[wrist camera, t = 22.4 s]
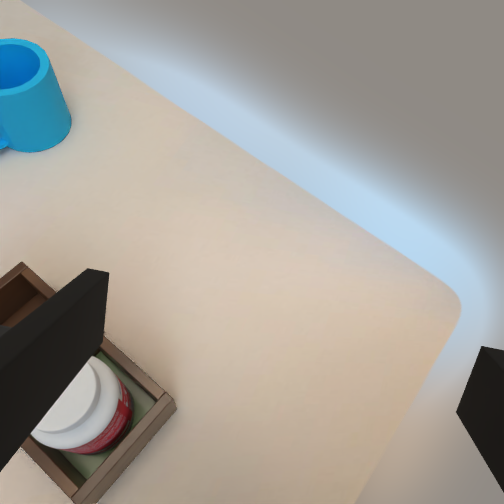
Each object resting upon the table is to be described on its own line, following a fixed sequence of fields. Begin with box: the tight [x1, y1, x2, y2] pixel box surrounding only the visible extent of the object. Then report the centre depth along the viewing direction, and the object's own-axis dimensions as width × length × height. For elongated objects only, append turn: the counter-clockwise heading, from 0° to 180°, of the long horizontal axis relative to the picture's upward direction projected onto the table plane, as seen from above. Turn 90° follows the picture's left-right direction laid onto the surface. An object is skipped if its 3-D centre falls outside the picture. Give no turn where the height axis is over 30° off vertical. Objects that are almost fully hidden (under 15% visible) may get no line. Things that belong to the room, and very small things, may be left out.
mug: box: [0, 38, 71, 152], centre depth 47 cm, size 12×8×8 cm
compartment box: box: [0, 262, 177, 504], centre depth 36 cm, size 18×9×5 cm, turn 51°
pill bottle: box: [31, 356, 134, 455], centre depth 32 cm, size 6×6×11 cm
